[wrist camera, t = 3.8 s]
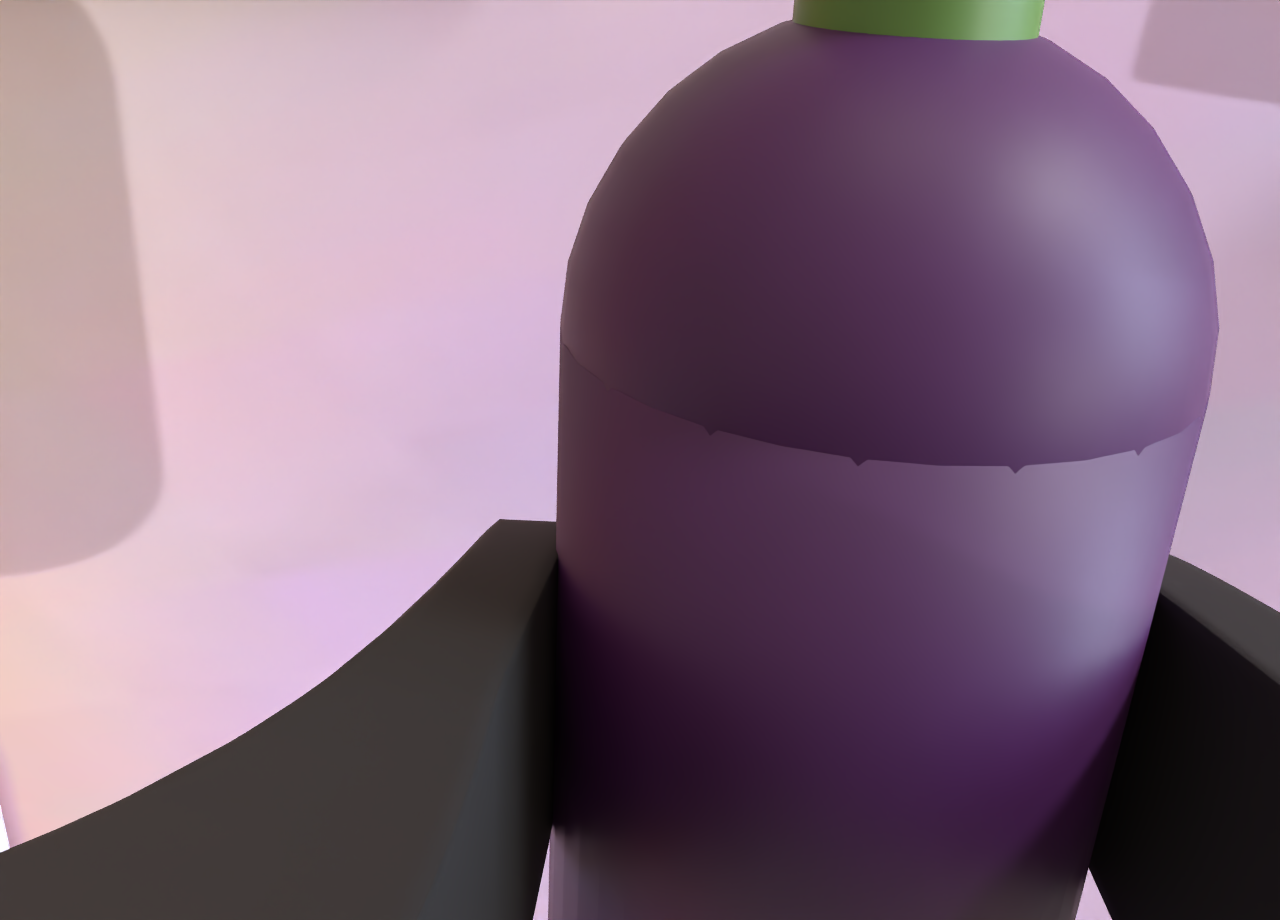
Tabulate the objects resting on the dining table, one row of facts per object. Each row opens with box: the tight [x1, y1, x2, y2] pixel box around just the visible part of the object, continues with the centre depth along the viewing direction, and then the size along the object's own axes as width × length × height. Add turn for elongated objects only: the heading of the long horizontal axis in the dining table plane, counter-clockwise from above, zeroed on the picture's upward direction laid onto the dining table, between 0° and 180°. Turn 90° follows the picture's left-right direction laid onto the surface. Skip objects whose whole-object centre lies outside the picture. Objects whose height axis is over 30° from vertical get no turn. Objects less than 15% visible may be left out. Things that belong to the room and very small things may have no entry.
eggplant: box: [548, 0, 1219, 920], centre depth 10 cm, size 12×5×5 cm, turn 177°
